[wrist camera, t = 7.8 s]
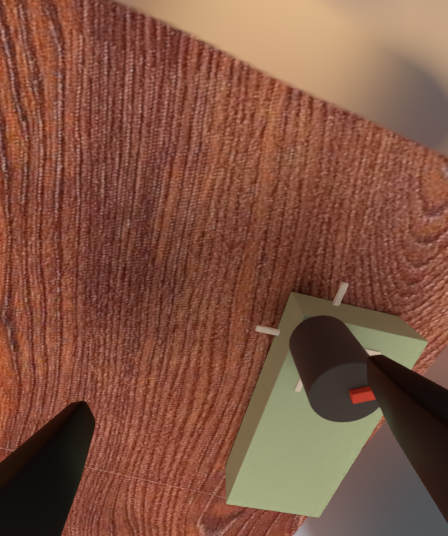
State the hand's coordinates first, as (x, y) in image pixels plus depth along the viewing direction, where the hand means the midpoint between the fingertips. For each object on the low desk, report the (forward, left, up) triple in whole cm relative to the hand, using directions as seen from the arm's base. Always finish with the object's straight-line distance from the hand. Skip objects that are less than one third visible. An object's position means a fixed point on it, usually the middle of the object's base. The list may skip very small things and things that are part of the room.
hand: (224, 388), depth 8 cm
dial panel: (+8, +8, -10) cm, 15 cm away
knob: (+2, +6, -7) cm, 9 cm away
